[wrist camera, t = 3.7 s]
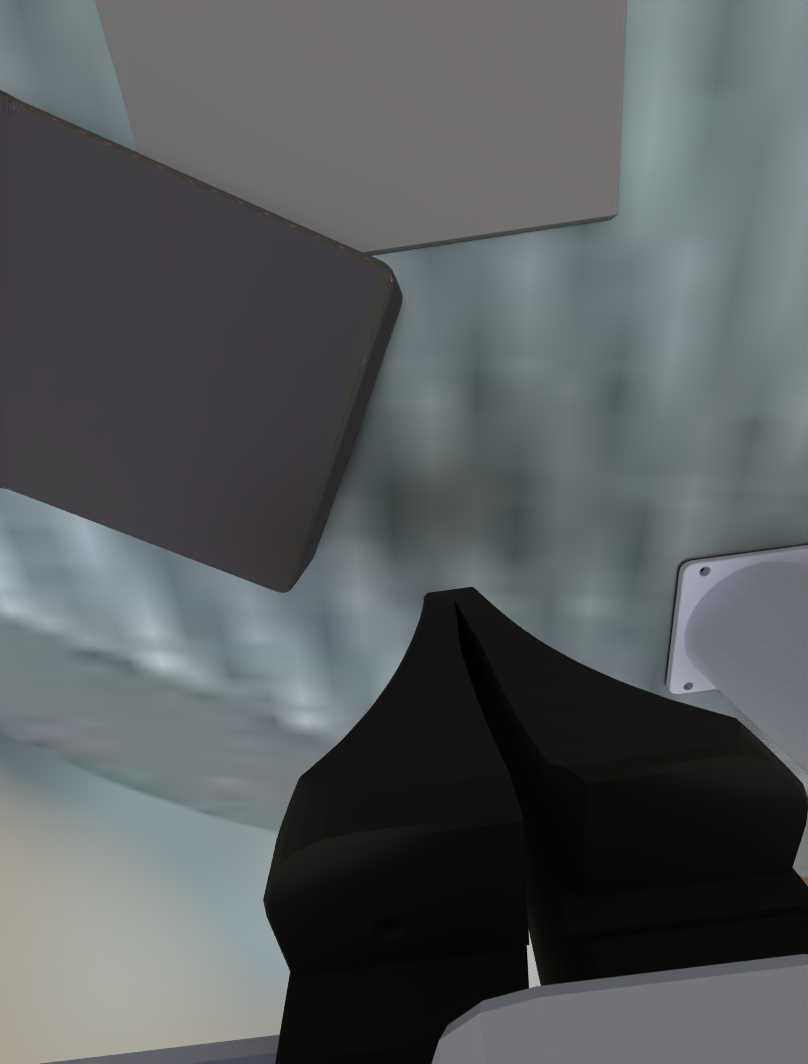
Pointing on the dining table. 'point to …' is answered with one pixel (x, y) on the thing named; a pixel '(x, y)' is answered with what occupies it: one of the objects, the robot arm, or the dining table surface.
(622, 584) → the dining table surface
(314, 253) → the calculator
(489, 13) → the mat
